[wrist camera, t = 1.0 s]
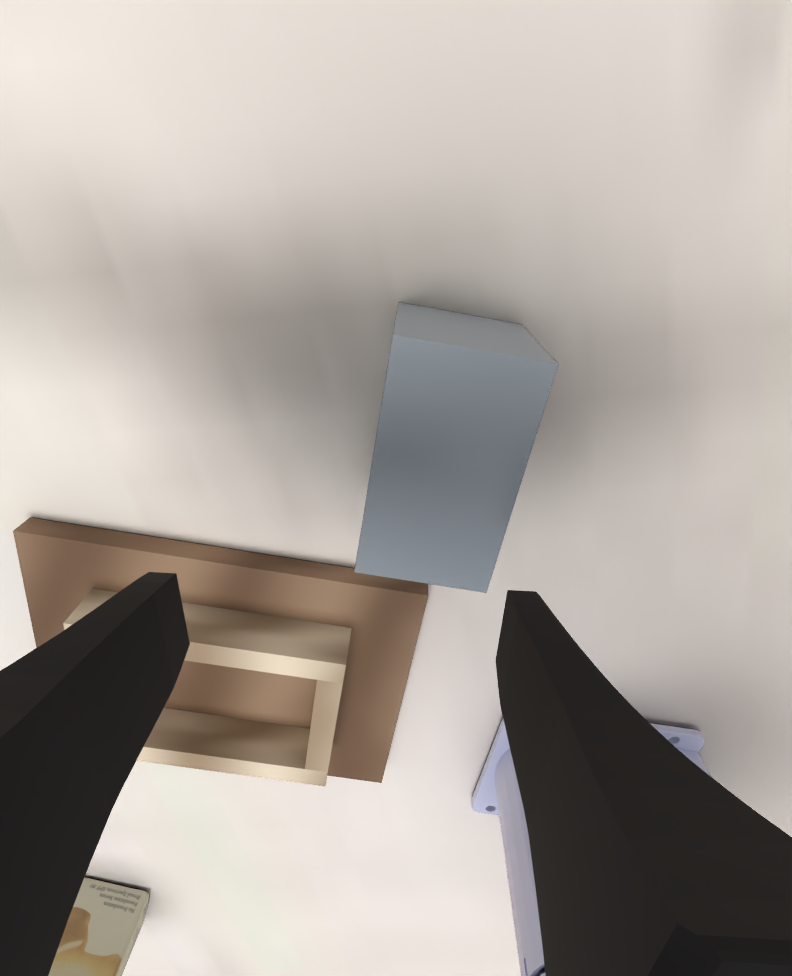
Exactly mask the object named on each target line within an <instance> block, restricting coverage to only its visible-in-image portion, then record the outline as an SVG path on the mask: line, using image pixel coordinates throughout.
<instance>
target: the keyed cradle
mask: <svg viewBox="0 0 792 976" xmlns="http://www.w3.org/2000/svg"><path fill="white" fill-rule="evenodd" d="M13 533H14V538H15V543H16V548H17V553H18V558H19V563H20V568H21V573H22V577H23V582H24V587H25V592H26V597H27V602H28V607H29V612H30V617H31V622H32V627H33V632H34V637H35V642H36V647H39V646H41V645H42V644H44V643H45V642H47V641H48V640H50V639H51V638H53V637H55V636H56V635H58V634H59V633H61V632H62V631H64V630H65V629H67V628H68V627H70V626H71V625H72V624H74V623H75V622H77V621H78V620H80V619H81V618H83V617H84V616H85V615H87V614H88V613H90V612H91V611H93V610H94V609H95V608H97V607H98V606H100V605H101V604H103V603H104V602H105V601H107V600H108V599H110V598H111V597H112V596H114V595H115V594H117V593H118V592H120V591H121V590H122V589H124V588H125V587H127V586H128V585H130V584H131V583H132V582H134V581H135V580H137V579H138V578H140V577H141V576H143V575H145V574H146V573H148V572H160V573H176V574H177V579H178V585H179V590H180V595H181V600H182V605H183V611H184V616H185V621H186V626H187V631H188V637H189V642H190V645H189V648H188V651H187V654H186V657H185V659H184V662H183V665H182V668H181V671H180V673H179V676H178V678H177V681H176V684H175V686H174V689H173V691H172V693H171V695H170V697H169V699H168V701H167V702H166V704H165V706H164V708H163V710H162V712H161V714H160V716H159V718H158V720H157V722H156V724H155V726H154V728H153V730H152V732H151V733H150V735H149V737H148V739H147V741H146V743H145V745H144V747H143V749H142V751H141V753H140V754H139V756H138V758H137V760H136V761H144V762H151V763H158V764H166V765H173V766H180V767H188V768H195V769H202V770H209V771H217V772H224V773H231V774H239V775H246V776H253V777H261V778H268V779H275V780H282V781H290V782H297V783H304V784H312V785H319V786H325V785H326V779H327V775H328V776H336V777H343V778H350V779H357V780H365V781H372V782H379V783H382V779H383V775H384V771H385V767H386V763H387V759H388V755H389V751H390V747H391V743H392V739H393V735H394V731H395V727H396V723H397V719H398V715H399V711H400V707H401V703H402V699H403V695H404V691H405V687H406V683H407V679H408V675H409V671H410V667H411V663H412V659H413V655H414V651H415V647H416V643H417V639H418V635H419V631H420V627H421V623H422V619H423V615H424V611H425V607H426V603H427V599H428V584H427V583H420V582H414V581H407V580H401V579H395V578H388V577H382V576H375V575H369V574H363V573H356V572H354V570H355V568H348V567H342V566H336V565H329V564H323V563H317V562H310V561H304V560H298V559H291V558H285V557H278V556H272V555H266V554H259V553H253V552H247V551H240V550H234V549H227V548H221V547H215V546H208V545H202V544H196V543H189V542H183V541H177V540H170V539H164V538H157V537H151V536H145V535H138V534H132V533H126V532H119V531H113V530H107V529H100V528H94V527H87V526H81V525H75V524H68V523H62V522H56V521H49V520H43V519H36V518H29V519H28V520H26V521H25V522H24V523H23V524H21V525H20V526H19V527H18V528H16V529H15V530H14V531H13Z"/></svg>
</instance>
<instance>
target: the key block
mask: <svg viewBox="0 0 792 976" xmlns="http://www.w3.org/2000/svg"><path fill="white" fill-rule="evenodd" d="M557 366H558V363H557V362H556V361H555V360H554V359H553V358H552V357H551V356H550V355H549V354H548V352H547V351H546V350H545V349H544V348H543V347H542V346H541V345H540V344H539V343H538V342H537V340H536V339H535V338H534V337H533V336H532V335H531V334H530V333H529V332H528V331H527V329H526V328H525V327H524V326H523V325H522V324H516V323H511V322H505V321H500V320H494V319H489V318H483V317H478V316H472V315H467V314H461V313H456V312H450V311H445V310H439V309H434V308H428V307H423V306H417V305H412V304H407V303H401V302H399V304H398V309H397V315H396V320H395V326H394V331H393V337H392V343H391V349H390V355H389V361H388V367H387V374H386V380H385V386H384V392H383V398H382V404H381V411H380V417H379V423H378V429H377V435H376V441H375V447H374V454H373V460H372V466H371V472H370V478H369V484H368V490H367V497H366V503H365V509H364V515H363V521H362V527H361V534H360V540H359V546H358V552H357V558H356V564H355V570H354V572H356V573H363V574H369V575H375V576H382V577H388V578H395V579H401V580H407V581H414V582H420V583H427V584H433V585H439V586H446V587H452V588H459V589H465V590H471V591H478V592H484V593H486V592H487V589H488V586H489V583H490V580H491V576H492V573H493V570H494V567H495V564H496V561H497V557H498V554H499V551H500V548H501V545H502V541H503V538H504V535H505V532H506V529H507V526H508V522H509V519H510V516H511V513H512V510H513V506H514V503H515V500H516V497H517V494H518V491H519V487H520V484H521V481H522V478H523V475H524V471H525V468H526V465H527V462H528V459H529V456H530V452H531V449H532V446H533V443H534V440H535V436H536V433H537V430H538V427H539V424H540V421H541V417H542V414H543V411H544V408H545V405H546V401H547V398H548V395H549V392H550V389H551V386H552V382H553V379H554V376H555V373H556V370H557Z"/></svg>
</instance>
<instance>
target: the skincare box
mask: <svg viewBox="0 0 792 976" xmlns="http://www.w3.org/2000/svg"><path fill="white" fill-rule="evenodd" d="M148 900H149V893H148V892H146V891H143V890H137V889H132V888H128V887H124V886H120V885H115V884H111V883H107V882H103V881H98V880H94V879H90V878H85V877H84V880H83V882H82V885H81V887H80V890H79V893H78V895H77V898H76V900H75V903H74V906H73V908H72V911H71V914H70V916H69V919H68V921H67V924H66V927H65V930H64V933H63V936H62V938H61V941H60V944H59V947H58V950H57V952H56V955H55V958H54V961H53V964H52V966H51V969H50V972H49V975H48V976H122V973H123V971H124V969H125V966H126V964H127V961H128V959H129V956H130V954H131V951H132V949H133V946H134V944H135V941H136V939H137V937H138V934H139V932H140V929H141V927H142V924H143V921H144V918H145V914H146V910H147V906H148Z"/></svg>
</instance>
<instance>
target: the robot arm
mask: <svg viewBox="0 0 792 976" xmlns="http://www.w3.org/2000/svg"><path fill="white" fill-rule="evenodd" d="M189 645H190V642H189V637H188V631H187V626H186V621H185V616H184V611H183V605H182V600H181V595H180V590H179V585H178V579H177V574H176V573H160V572H148V573H146V574H145V575H143V576H141V577H140V578H138V579H137V580H135V581H134V582H132V583H131V584H130V585H128V586H127V587H125V588H124V589H122V590H121V591H120V592H118V593H117V594H115V595H114V596H112V597H111V598H110V599H108V600H107V601H105V602H104V603H103V604H101V605H100V606H98V607H97V608H95V609H94V610H93V611H91V612H90V613H88V614H87V615H85V616H84V617H83V618H81V619H80V620H78V621H77V622H75V623H74V624H72V625H71V626H70V627H68V628H67V629H65V630H64V631H62V632H61V633H59V634H58V635H56V636H55V637H53V638H51V639H50V640H48V641H47V642H45V643H44V644H42V645H41V646H39V647H37V648H36V649H34V650H33V651H31V652H30V653H28V654H27V655H25V656H23V657H22V658H20V659H19V660H17V661H16V662H14V663H13V664H11V665H9V666H8V667H6V668H4V669H3V670H1V671H0V976H48V975H49V972H50V969H51V966H52V964H53V961H54V958H55V955H56V952H57V950H58V947H59V944H60V941H61V938H62V936H63V933H64V930H65V927H66V924H67V921H68V919H69V916H70V914H71V911H72V908H73V906H74V903H75V900H76V898H77V895H78V893H79V890H80V887H81V885H82V882H83V880H84V877H85V874H86V872H87V869H88V867H89V864H90V861H91V859H92V856H93V854H94V852H95V849H96V847H97V844H98V842H99V839H100V837H101V834H102V832H103V830H104V827H105V825H106V822H107V820H108V817H109V815H110V812H111V810H112V808H113V806H114V804H115V802H116V800H117V797H118V795H119V793H120V791H121V789H122V787H123V785H124V783H125V781H126V779H127V777H128V775H129V774H130V772H131V770H132V768H133V766H134V764H135V762H136V760H137V758H138V756H139V754H140V753H141V751H142V749H143V747H144V745H145V743H146V741H147V739H148V737H149V735H150V733H151V732H152V730H153V728H154V726H155V724H156V722H157V720H158V718H159V716H160V714H161V712H162V710H163V708H164V706H165V704H166V702H167V701H168V699H169V697H170V695H171V693H172V691H173V689H174V686H175V684H176V681H177V678H178V676H179V673H180V671H181V668H182V665H183V662H184V659H185V657H186V654H187V651H188V648H189ZM496 667H497V678H498V688H499V697H500V705H501V710H502V715H503V719H502V722H501V724H500V727H499V730H498V732H497V735H496V737H495V740H494V742H493V745H492V748H491V750H490V753H489V755H488V758H487V761H486V763H485V766H484V768H483V771H482V773H481V776H480V779H479V781H478V784H477V786H476V789H475V792H474V794H473V797H472V799H471V805H472V809H473V810H474V811H476V812H479V813H487V814H494V815H499V817H500V824H501V832H502V839H503V846H504V854H505V861H506V868H507V876H508V883H509V890H510V898H511V905H512V912H513V920H514V927H515V934H516V942H517V949H518V956H519V964H520V971H521V976H792V837H790V836H789V835H788V834H786V833H785V832H783V831H782V830H781V829H779V828H778V827H777V826H775V825H774V824H772V823H771V822H770V821H768V820H767V819H765V818H764V817H763V816H761V815H760V814H758V813H757V812H756V811H754V810H753V809H752V808H750V807H749V806H748V805H746V804H745V803H744V802H742V801H741V800H740V799H738V798H737V797H736V796H734V795H733V794H732V793H731V792H729V791H728V790H727V789H725V788H724V787H723V786H722V785H720V784H719V783H718V782H717V781H716V780H714V779H713V778H712V777H711V775H710V774H709V772H708V770H707V768H706V766H705V764H704V762H703V760H702V758H701V756H700V754H699V753H698V752H699V751H700V749H701V748H702V746H703V745H704V743H705V739H704V737H703V735H702V733H701V732H700V731H697V730H693V729H686V728H680V727H673V726H666V725H659V724H652V723H649V722H648V721H647V720H646V719H645V718H643V717H642V716H641V715H640V714H639V713H638V712H637V711H636V710H635V709H634V708H633V707H632V706H631V705H630V704H629V703H628V701H627V700H626V699H625V698H624V697H623V696H622V695H621V694H620V693H619V692H618V691H617V690H616V689H615V688H614V687H613V685H612V684H611V683H610V682H609V681H608V680H607V679H606V678H605V677H604V675H603V674H602V673H601V672H600V671H599V670H598V669H597V667H596V666H595V665H594V664H593V663H592V661H591V660H590V659H589V658H588V657H587V655H586V654H585V653H584V652H583V651H582V650H581V648H580V647H579V646H578V645H577V643H576V642H575V641H574V640H573V639H572V637H571V636H570V635H569V633H568V632H567V631H566V630H565V628H564V627H563V626H562V624H561V623H560V622H559V621H558V619H557V618H556V617H555V615H554V614H553V613H552V611H551V610H550V609H549V607H548V606H547V605H546V603H545V602H544V601H543V599H542V598H541V597H540V596H539V594H538V593H537V592H532V591H512V590H508V592H507V597H506V603H505V609H504V615H503V621H502V627H501V633H500V638H499V644H498V650H497V656H496Z"/></svg>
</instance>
